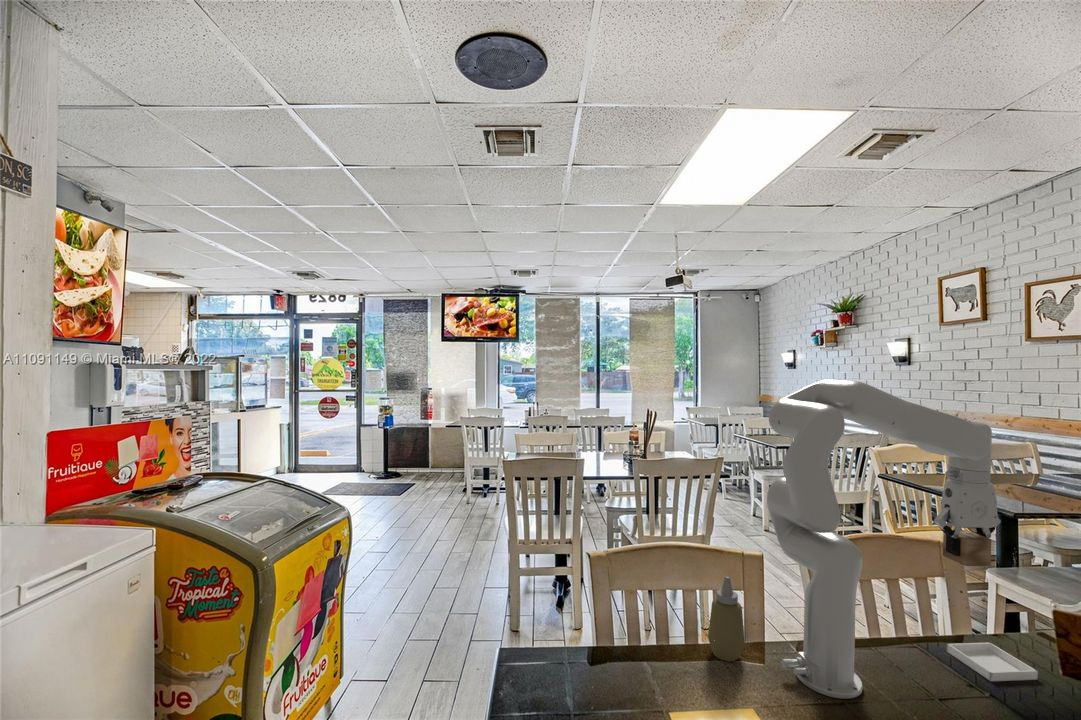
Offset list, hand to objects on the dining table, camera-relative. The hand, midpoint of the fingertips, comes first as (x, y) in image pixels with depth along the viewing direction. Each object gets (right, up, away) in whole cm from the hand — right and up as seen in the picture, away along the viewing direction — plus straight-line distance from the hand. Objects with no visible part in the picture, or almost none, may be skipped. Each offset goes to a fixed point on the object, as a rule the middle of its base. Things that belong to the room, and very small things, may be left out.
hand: (966, 552), depth 117 cm
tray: (+3, -25, -3) cm, 25 cm away
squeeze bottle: (-55, -24, 0) cm, 60 cm away
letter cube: (0, -2, 0) cm, 2 cm away
